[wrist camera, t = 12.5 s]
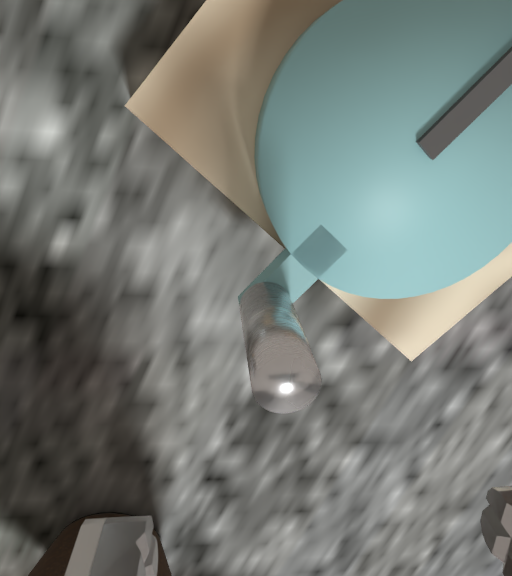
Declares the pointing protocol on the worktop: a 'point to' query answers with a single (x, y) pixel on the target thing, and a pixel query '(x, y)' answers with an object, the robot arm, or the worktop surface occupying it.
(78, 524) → the plant pot
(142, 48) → the worktop surface
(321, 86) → the dial
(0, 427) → the worktop surface
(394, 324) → the dial base
